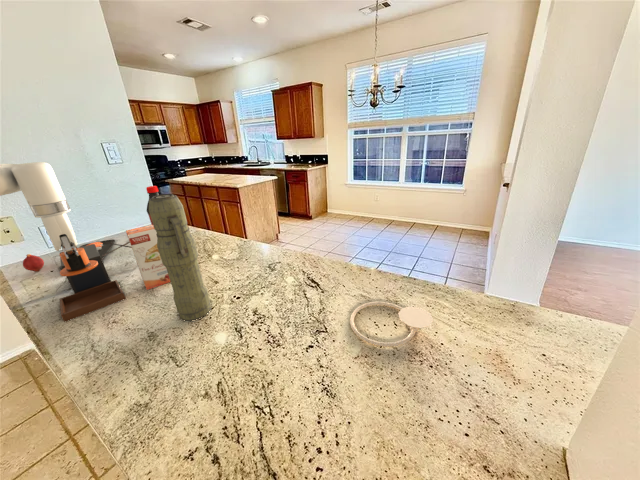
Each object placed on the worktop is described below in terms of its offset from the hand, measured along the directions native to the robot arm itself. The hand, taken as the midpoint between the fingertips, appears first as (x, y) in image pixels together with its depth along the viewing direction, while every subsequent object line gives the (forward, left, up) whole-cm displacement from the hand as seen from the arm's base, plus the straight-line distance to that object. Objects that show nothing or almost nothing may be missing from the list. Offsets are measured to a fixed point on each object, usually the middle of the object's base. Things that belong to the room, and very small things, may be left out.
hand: (77, 264), depth 80 cm
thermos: (+21, -31, -14) cm, 40 cm away
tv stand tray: (0, 0, -14) cm, 14 cm away
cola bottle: (+30, +22, -14) cm, 40 cm away
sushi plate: (+11, +45, -14) cm, 48 cm away
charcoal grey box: (+1, +16, -14) cm, 21 cm away
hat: (0, 0, -1) cm, 1 cm away
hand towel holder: (+54, -76, -14) cm, 94 cm away
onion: (-14, +47, -14) cm, 51 cm away
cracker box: (+21, -4, -14) cm, 25 cm away
